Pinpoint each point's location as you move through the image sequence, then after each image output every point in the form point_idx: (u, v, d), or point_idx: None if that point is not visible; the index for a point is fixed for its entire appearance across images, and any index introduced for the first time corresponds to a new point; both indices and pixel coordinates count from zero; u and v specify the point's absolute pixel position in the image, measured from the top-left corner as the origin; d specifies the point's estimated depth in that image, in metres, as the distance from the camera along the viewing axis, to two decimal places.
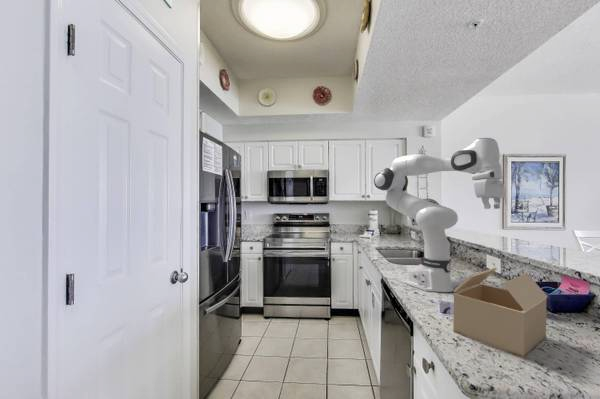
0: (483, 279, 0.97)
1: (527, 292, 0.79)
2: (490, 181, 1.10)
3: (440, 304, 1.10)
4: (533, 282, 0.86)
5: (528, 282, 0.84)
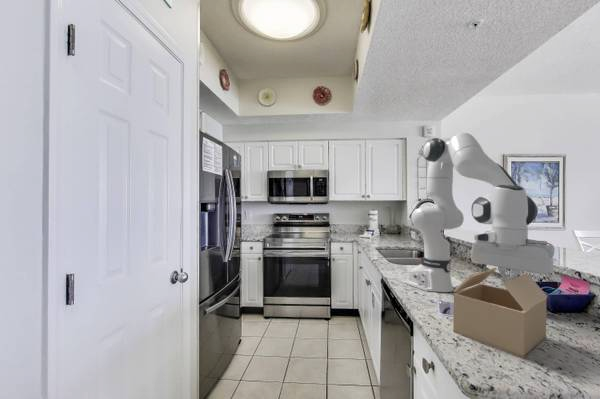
0: (483, 279, 0.97)
1: (527, 292, 0.79)
2: (485, 245, 0.87)
3: (440, 304, 1.10)
4: (533, 282, 0.86)
5: (528, 282, 0.84)
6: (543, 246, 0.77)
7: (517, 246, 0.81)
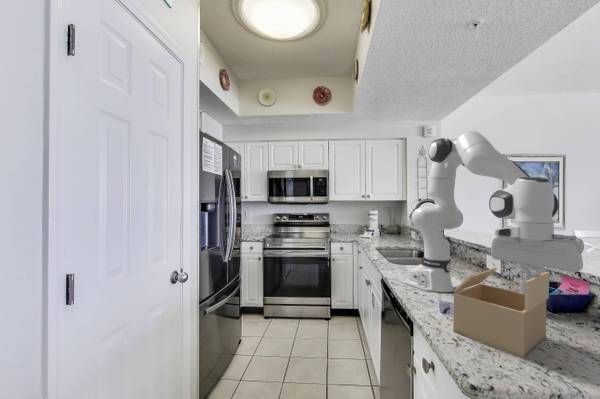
0: (483, 279, 0.97)
1: (537, 293, 0.77)
2: (507, 241, 0.82)
3: (440, 304, 1.10)
4: (547, 282, 0.83)
5: (544, 282, 0.81)
6: (571, 241, 0.72)
7: (542, 241, 0.76)
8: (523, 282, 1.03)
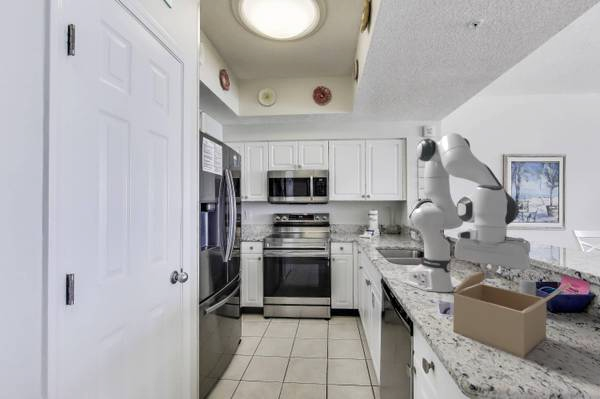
0: (483, 279, 0.97)
1: None
2: (467, 242, 0.92)
3: (439, 304, 1.09)
4: None
5: None
6: (520, 243, 0.82)
7: (496, 243, 0.85)
8: (523, 282, 1.03)
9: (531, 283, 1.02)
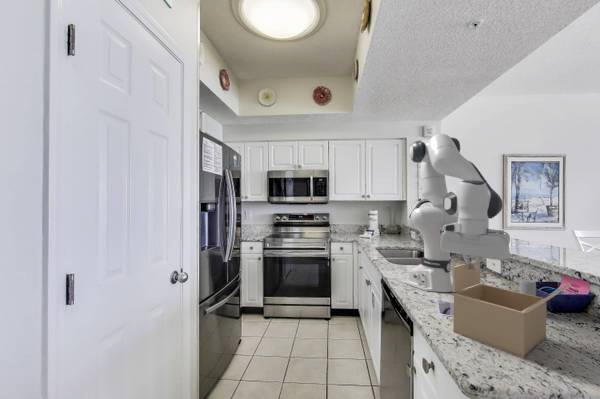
0: (478, 276, 0.98)
1: None
2: (452, 235, 0.96)
3: (439, 304, 1.09)
4: None
5: None
6: (500, 235, 0.86)
7: (479, 235, 0.89)
8: (523, 282, 1.03)
9: (531, 283, 1.02)
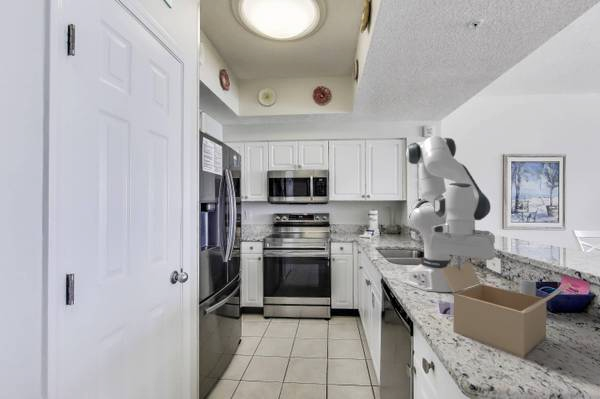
0: (475, 276, 0.99)
1: None
2: (441, 236, 0.99)
3: (439, 304, 1.09)
4: None
5: None
6: (486, 235, 0.89)
7: (465, 236, 0.93)
8: (523, 282, 1.03)
9: (531, 283, 1.02)
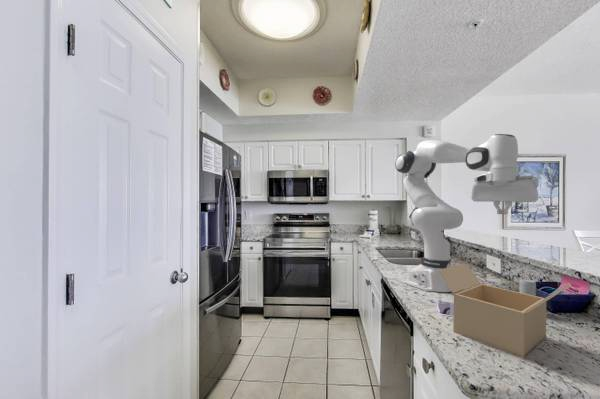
0: (473, 277, 0.99)
1: None
2: (483, 185, 1.06)
3: (439, 304, 1.09)
4: None
5: None
6: (530, 179, 0.96)
7: (509, 182, 0.99)
8: (523, 282, 1.03)
9: (531, 283, 1.02)
